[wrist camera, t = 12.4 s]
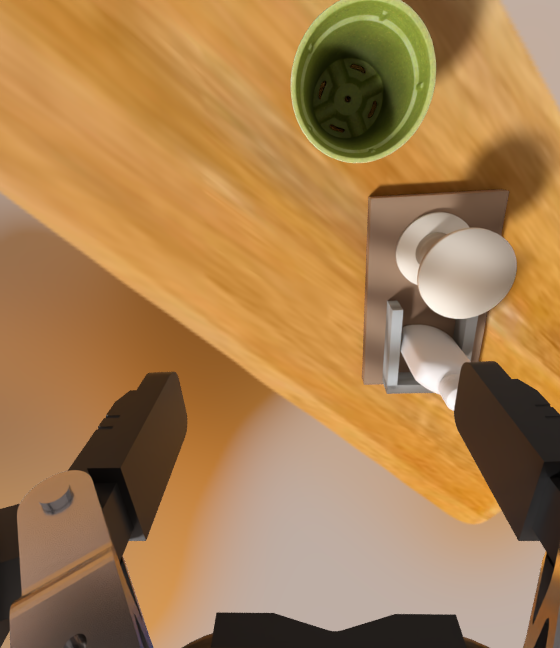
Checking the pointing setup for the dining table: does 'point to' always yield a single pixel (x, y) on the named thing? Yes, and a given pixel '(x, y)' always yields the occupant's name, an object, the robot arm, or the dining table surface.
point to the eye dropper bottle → (433, 360)
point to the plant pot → (363, 78)
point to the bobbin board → (391, 278)
